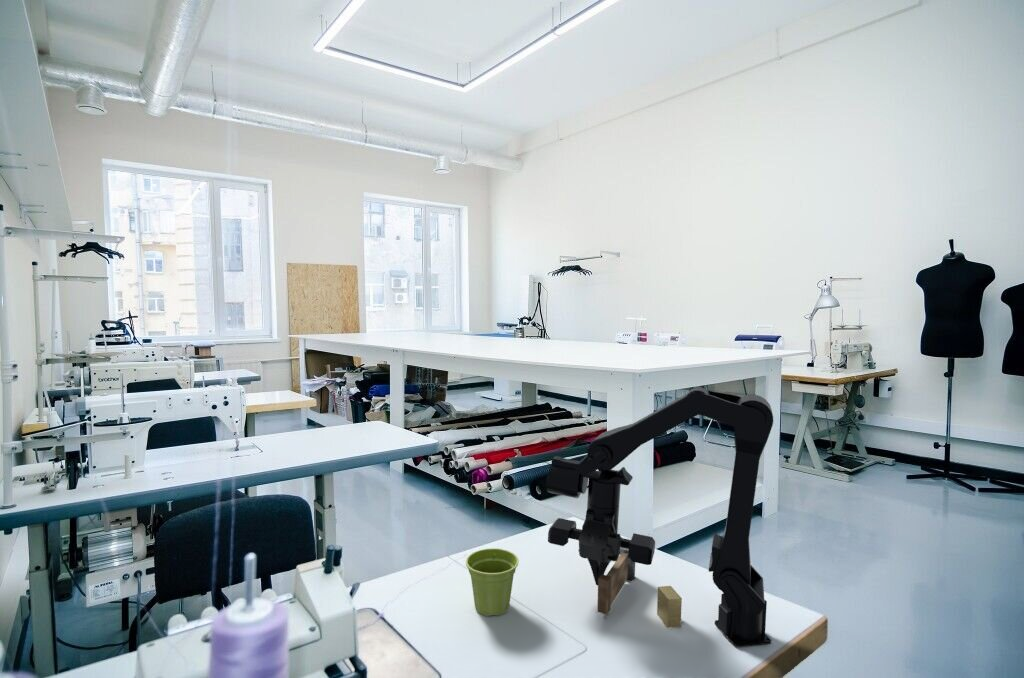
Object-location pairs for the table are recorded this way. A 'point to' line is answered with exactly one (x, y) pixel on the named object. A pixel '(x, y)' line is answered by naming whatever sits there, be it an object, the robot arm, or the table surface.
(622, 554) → the wooden t-bar
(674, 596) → the block
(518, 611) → the table surface
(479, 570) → the plant pot
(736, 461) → the robot arm
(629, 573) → the grey metal cylinder
